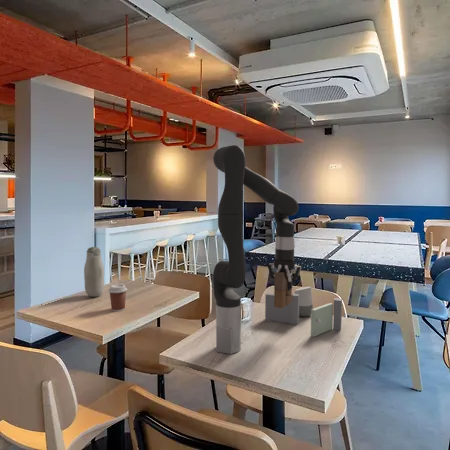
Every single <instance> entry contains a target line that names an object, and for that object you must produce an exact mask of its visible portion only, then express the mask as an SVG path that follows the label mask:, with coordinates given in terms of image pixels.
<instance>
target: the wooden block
mask: <svg viewBox="0 0 450 450" xmlns="http://www.w3.org/2000/svg"><path fill="white" fill-rule="evenodd" d="M291 271H292V272H293V269H292V270H291ZM274 273H275V278H274V279H273V280H274V283H273V284H274V285H273V287H274V288H273V291H274V292H273V294H274V307H276V308H284V307H285V305H288V304H290V303H292V302H293V294H294V293H292V290H293V288H292V289H291V290H290V291H288V281H289V280H288V276H287V273H284V272H283V273H278V272H277V271H274Z"/></svg>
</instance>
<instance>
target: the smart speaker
mask: <svg viewBox="0 0 450 450" xmlns="http://www.w3.org/2000/svg"><path fill="white" fill-rule="evenodd" d="M312 289H313V288H312V286H309V285H308V286H303V287H300V288H297V289H295V290H294V294H299V318H300V317H301V318H302V317H303V318H305V317H311V309H314V308H313V306H314V304H313V293H312Z"/></svg>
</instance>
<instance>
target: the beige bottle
mask: <svg viewBox="0 0 450 450" xmlns="http://www.w3.org/2000/svg"><path fill="white" fill-rule="evenodd" d="M103 263H104V261H103V259H102V252H101V249H100V248H99V247H98V246H90V247H88V248H87V250H86V258H85V263H84V268H83V277H84V290H85V293H86V294H87V296H89V297H90V298H98V297H100V296H102V295H103V293H104V290H105V266H104V264H103Z"/></svg>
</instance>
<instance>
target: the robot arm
mask: <svg viewBox="0 0 450 450" xmlns="http://www.w3.org/2000/svg"><path fill="white" fill-rule="evenodd" d="M212 157H213V159H212V160H213V163H214V166H215V168H216V169H218V171H221V172H223V173H224V187H223V192H222V194H221V196H220V197H221V198H220V200H219V203H218V208H217V226H218V231H219V233H220V235H221V238H222V240H223V242H224V244H225V246H226V250H227V255H228V260H220V261H218V262H217V263H216V264H215V266H214V269H213V274H212V275H213V277H212V280H213V281H212V283H213V295H214V299H215V301H216V303H215V318H216V320H215V321H216V322H215V323H216V324H215V327H216V328H215V330H216V331H215V334H216V336H215V341H216V342H215V344H216V346H215V349H216V352H217V353H222V354H227V355H233V354H235V353H238V352H240V350H241V349H242V348H241V347H242V346H241V343H242V342H241V340H242V338H241V337H242V336H241V334H242V333H241V331H242V330H241V329H242V321H241V320H242V316H241V314H242V299H241V296H240V295H239V293H237V292H236V291H235V290H234V289H240V288H241V287H242V286H243V285H244V283H245V280H246V261H245V249H244V186H245V187H247V188H248V189H249V190H251V191H252V192H253V193H255V195H257V197H259V198H260V199H261V200H263V201H264V202H265V203H267V204H269V205H271V206H272V205H273V206H272V207H273V209H272V210H273V216H274V222H275V225H276V227H275V228H276V231H275V232H276V233H275V235H276V237H275V242H274V243H275V244H274V245H275V248H274V250H275V251H274V253H275V254H274V255H275V256H274V262H272V263H271V262H269V263H268V264H267V268H268V273H269V276H270V278H271V279H273V280H274V278H275V270H274V268H276V272H278V273H283V272H284V273H287V276H288V280H289V281H288V291H290V290H291V289H292V290H293V282H294V281H297V280H298V278H299V276H300V272H301V270H302V265H298V264H296V263H295V247H296V246H295V225H294V223H293V222H292V221H291V220H290V219H289V217H291V216H295V215H296V214H297V213H298V212H299V208H300V207H299V204H298V201H297V199H295V198H294V197H293V196H291V195H290V194H288V193H287V192H286V191H285V192H284V191H283V190H281V189H280V188H278V186H276V185H275V184H273V183H272V182H271V181H270V180H269V179H267V178H266V177H264V176H263V175H260V174H259V173H257V172H255V171H253V170H251V169H250V168H249V167H247V166H246V155H245V151H244V149H243V148H242V147H240V146H239V145H236V144H233V145H227V146H222V147H220V148H218V149H217V150H216V151H215V152H214V153H213V156H212ZM293 269H294V270H295V273H294V275H293ZM291 270H292V271H291Z"/></svg>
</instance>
